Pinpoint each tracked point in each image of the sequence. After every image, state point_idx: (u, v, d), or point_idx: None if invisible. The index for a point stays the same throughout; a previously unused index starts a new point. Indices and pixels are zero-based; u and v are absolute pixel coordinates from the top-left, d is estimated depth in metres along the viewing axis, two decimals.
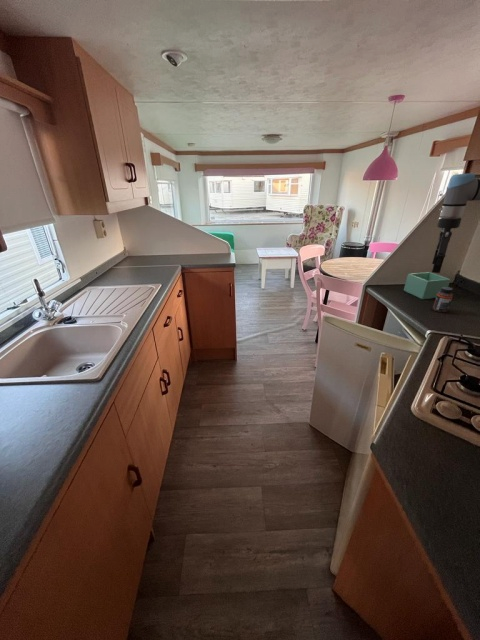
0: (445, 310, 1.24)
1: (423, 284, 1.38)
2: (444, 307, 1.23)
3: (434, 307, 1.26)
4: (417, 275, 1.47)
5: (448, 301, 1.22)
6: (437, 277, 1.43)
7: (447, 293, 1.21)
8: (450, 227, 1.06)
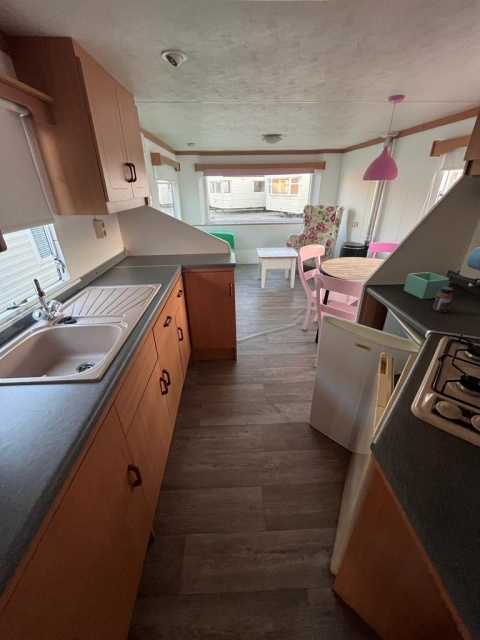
0: (445, 310, 1.24)
1: (423, 284, 1.38)
2: (444, 307, 1.23)
3: (434, 307, 1.26)
4: (417, 275, 1.47)
5: (448, 301, 1.22)
6: (437, 277, 1.43)
7: (447, 293, 1.21)
8: None
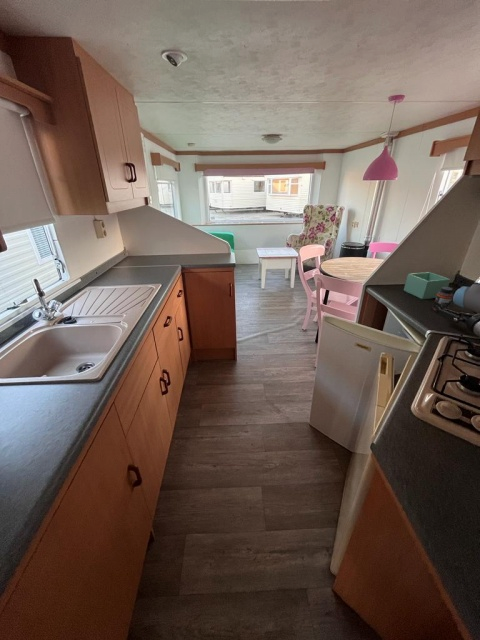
0: None
1: (423, 284, 1.38)
2: None
3: None
4: (417, 275, 1.47)
5: (448, 301, 1.22)
6: (437, 277, 1.43)
7: (447, 293, 1.21)
8: None
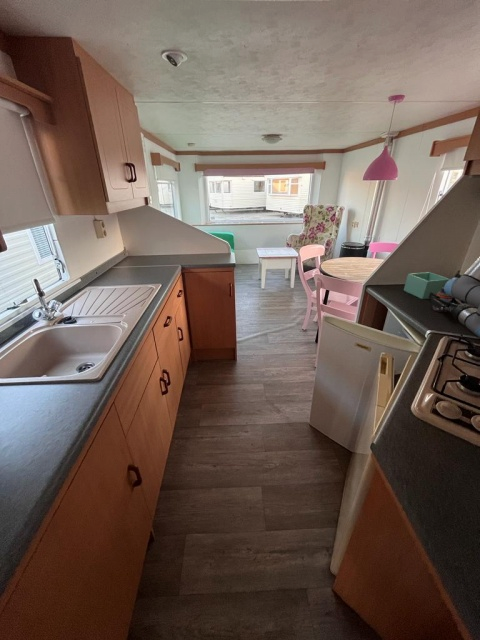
0: (445, 310, 1.24)
1: (423, 284, 1.38)
2: None
3: (434, 307, 1.26)
4: (417, 275, 1.47)
5: (448, 301, 1.22)
6: (437, 277, 1.43)
7: None
8: None
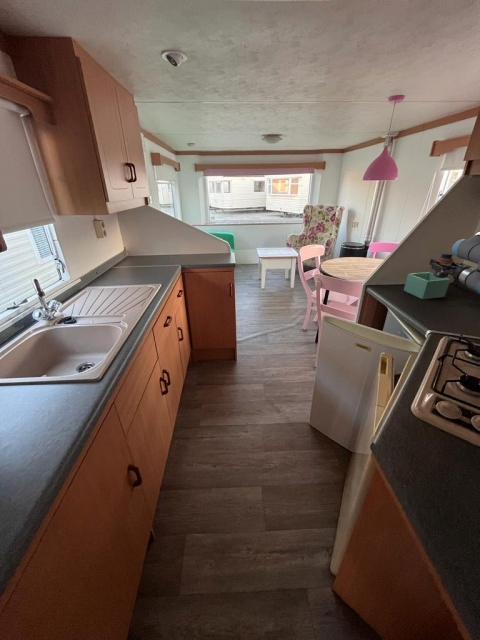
0: (445, 275, 1.26)
1: (423, 284, 1.38)
2: None
3: (435, 273, 1.29)
4: (417, 275, 1.47)
5: None
6: (437, 277, 1.43)
7: (447, 257, 1.23)
8: None
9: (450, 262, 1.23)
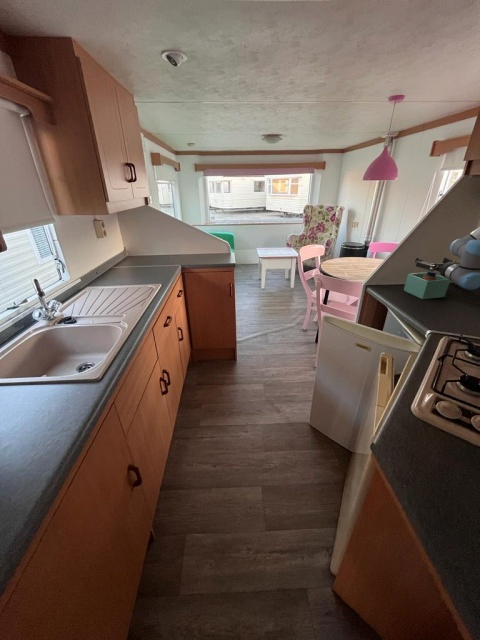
0: None
1: (423, 284, 1.38)
2: None
3: None
4: (417, 275, 1.47)
5: None
6: (437, 277, 1.43)
7: (431, 275, 1.40)
8: None
9: None
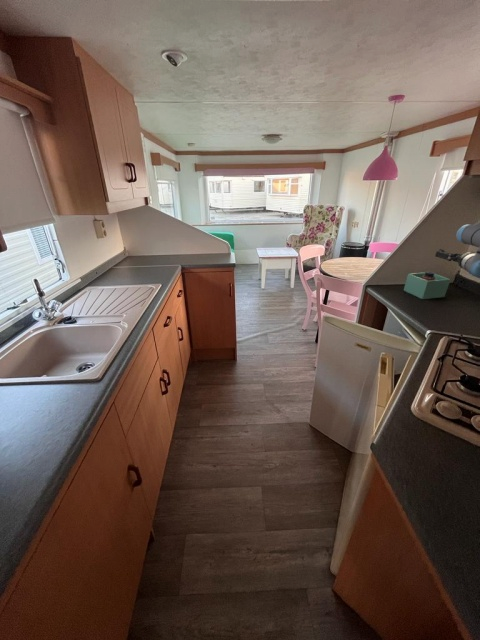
0: None
1: (423, 284, 1.38)
2: None
3: None
4: (417, 275, 1.47)
5: None
6: (437, 277, 1.43)
7: (430, 276, 1.40)
8: None
9: (432, 280, 1.40)
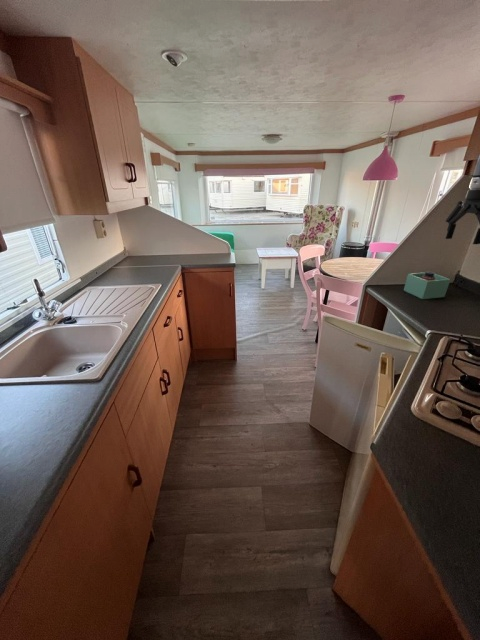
0: None
1: (423, 284, 1.38)
2: None
3: None
4: (417, 275, 1.47)
5: None
6: (437, 277, 1.43)
7: (430, 276, 1.40)
8: None
9: (432, 280, 1.40)
